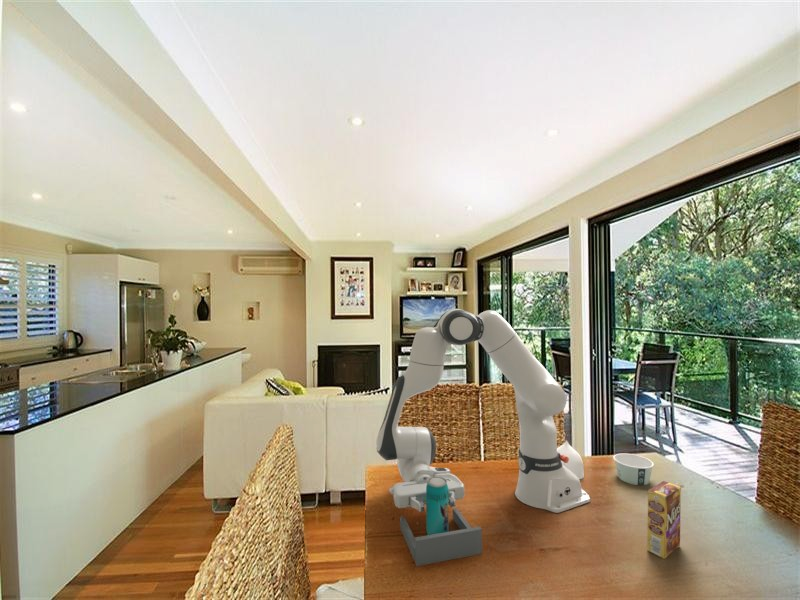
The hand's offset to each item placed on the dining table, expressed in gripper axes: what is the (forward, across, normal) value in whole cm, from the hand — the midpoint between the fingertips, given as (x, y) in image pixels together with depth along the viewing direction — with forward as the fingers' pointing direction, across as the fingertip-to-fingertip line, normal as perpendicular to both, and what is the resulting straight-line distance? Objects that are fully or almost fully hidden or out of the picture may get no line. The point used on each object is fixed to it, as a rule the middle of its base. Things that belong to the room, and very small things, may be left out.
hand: (437, 506), depth 99 cm
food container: (-13, +77, +9) cm, 79 cm away
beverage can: (0, 0, +9) cm, 9 cm away
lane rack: (0, 0, +8) cm, 9 cm away
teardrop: (-23, +58, +9) cm, 63 cm away
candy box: (+19, +53, +9) cm, 57 cm away
